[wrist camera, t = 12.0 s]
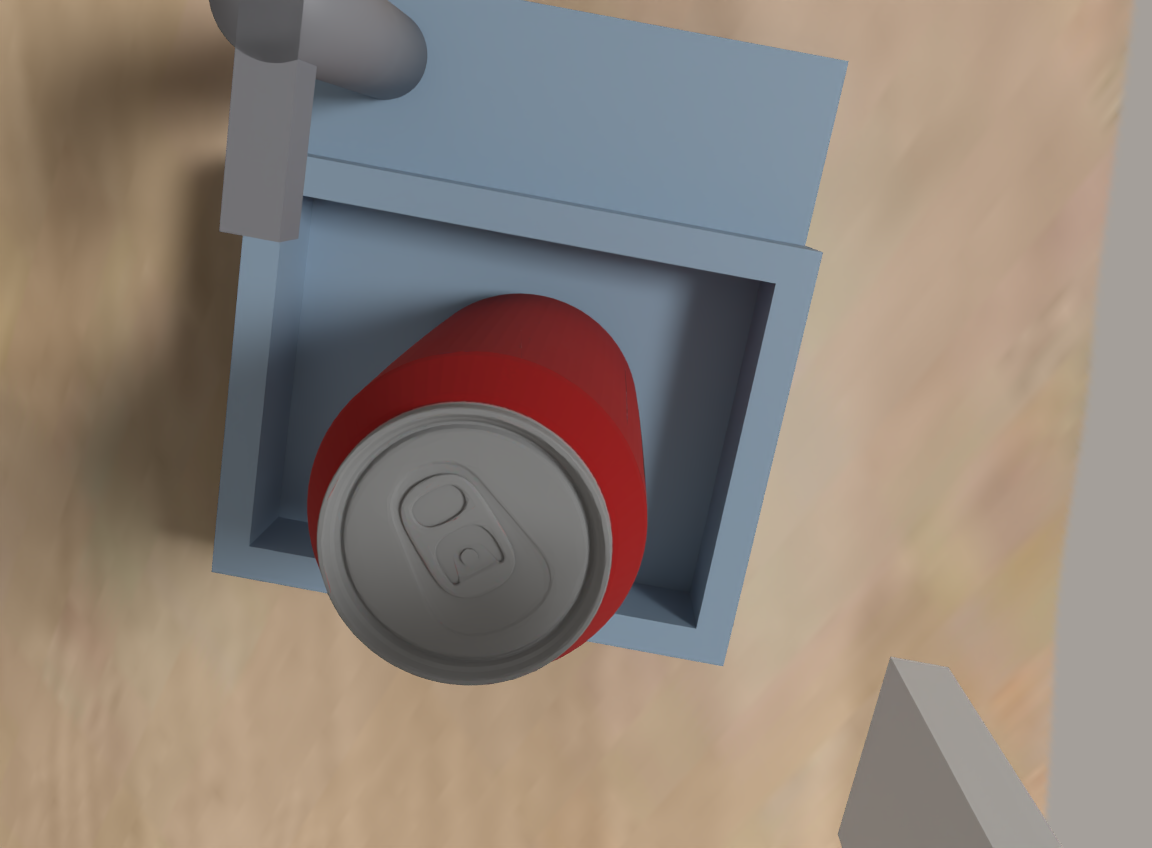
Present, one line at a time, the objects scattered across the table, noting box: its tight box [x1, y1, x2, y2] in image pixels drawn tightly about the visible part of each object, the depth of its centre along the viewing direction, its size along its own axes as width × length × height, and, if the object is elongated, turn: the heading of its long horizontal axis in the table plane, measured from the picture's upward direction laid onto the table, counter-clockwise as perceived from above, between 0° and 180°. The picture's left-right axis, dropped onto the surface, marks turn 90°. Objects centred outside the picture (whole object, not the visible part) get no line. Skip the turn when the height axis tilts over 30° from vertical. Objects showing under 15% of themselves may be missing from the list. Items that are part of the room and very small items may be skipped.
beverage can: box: [307, 293, 647, 685], centre depth 23 cm, size 7×7×12 cm
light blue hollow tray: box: [209, 0, 848, 666], centre depth 25 cm, size 18×15×10 cm
